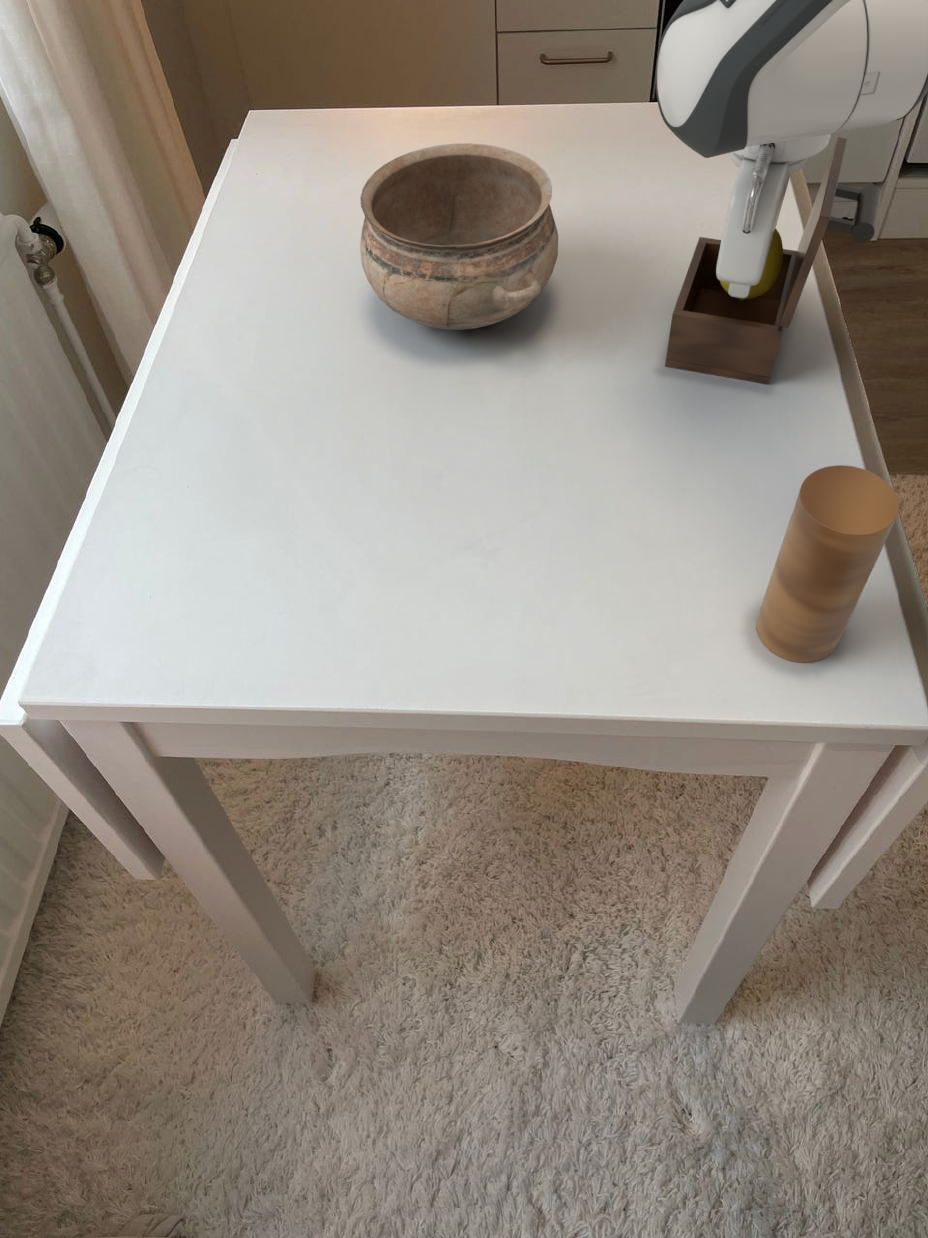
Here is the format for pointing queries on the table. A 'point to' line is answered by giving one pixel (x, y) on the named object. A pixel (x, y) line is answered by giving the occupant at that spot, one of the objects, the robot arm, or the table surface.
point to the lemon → (766, 269)
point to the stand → (825, 561)
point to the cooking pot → (458, 234)
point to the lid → (830, 224)
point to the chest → (726, 321)
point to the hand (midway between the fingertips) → (745, 270)
